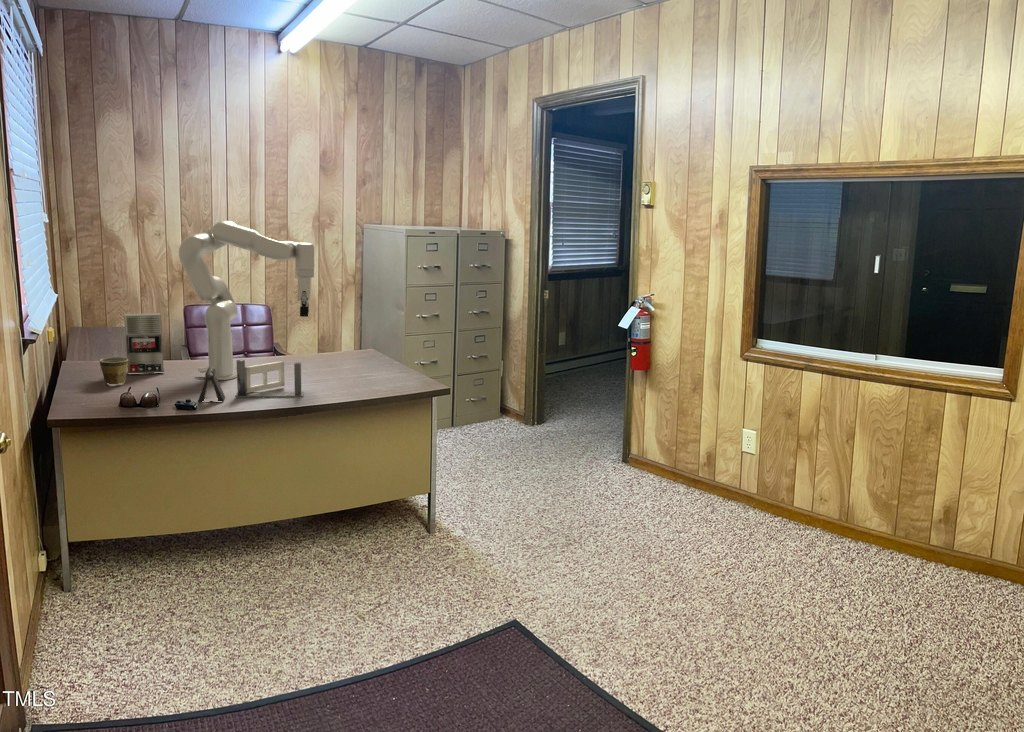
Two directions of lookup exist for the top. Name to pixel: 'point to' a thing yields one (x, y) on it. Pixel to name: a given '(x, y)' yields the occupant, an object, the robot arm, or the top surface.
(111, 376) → the ceramic cup
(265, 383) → the gate
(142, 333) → the cassette tape recorder
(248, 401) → the top surface
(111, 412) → the top surface
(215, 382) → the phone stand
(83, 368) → the top surface
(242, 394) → the gate frame
